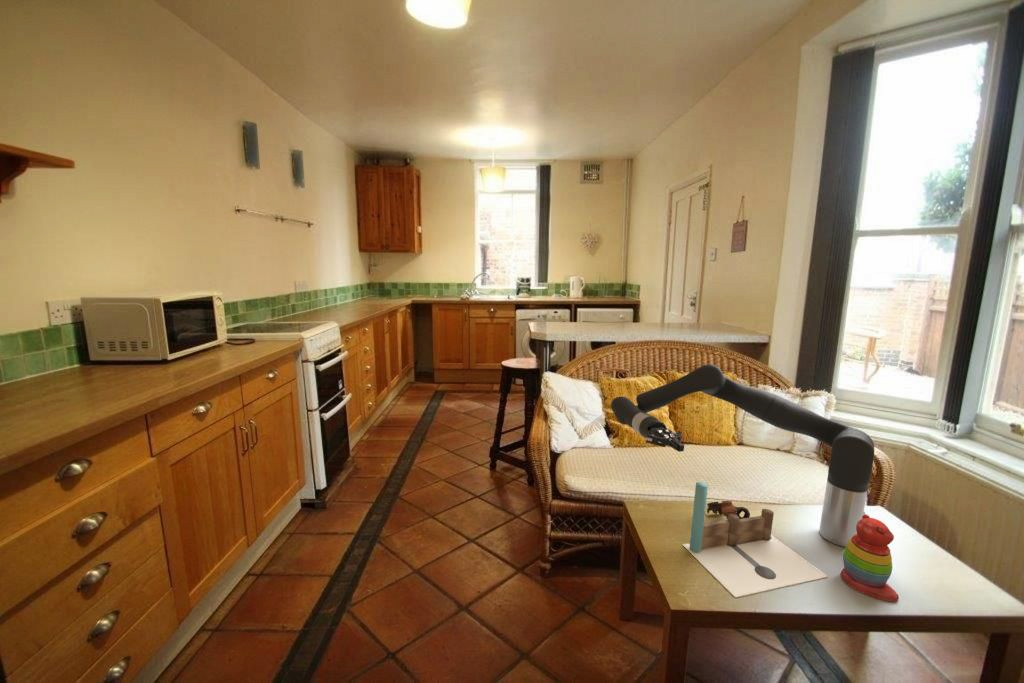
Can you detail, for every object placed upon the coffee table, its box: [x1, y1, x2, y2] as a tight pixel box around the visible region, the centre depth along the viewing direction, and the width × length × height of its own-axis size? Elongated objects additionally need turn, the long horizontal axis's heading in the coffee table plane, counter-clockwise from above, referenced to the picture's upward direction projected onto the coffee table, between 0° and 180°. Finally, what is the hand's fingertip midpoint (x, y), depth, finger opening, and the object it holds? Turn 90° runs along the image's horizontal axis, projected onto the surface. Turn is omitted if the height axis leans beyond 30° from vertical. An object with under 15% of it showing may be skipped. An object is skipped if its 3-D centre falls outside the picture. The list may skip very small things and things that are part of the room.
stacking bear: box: [840, 513, 900, 603], centre depth 104 cm, size 11×10×18 cm
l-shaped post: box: [689, 481, 730, 552], centre depth 116 cm, size 12×3×20 cm, turn 105°
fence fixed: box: [726, 508, 775, 547], centre depth 121 cm, size 15×3×8 cm, turn 105°
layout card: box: [682, 534, 829, 599], centre depth 114 cm, size 29×20×1 cm
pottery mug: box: [706, 500, 751, 520], centre depth 130 cm, size 12×10×8 cm
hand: (681, 448), depth 122 cm, fingers closed
